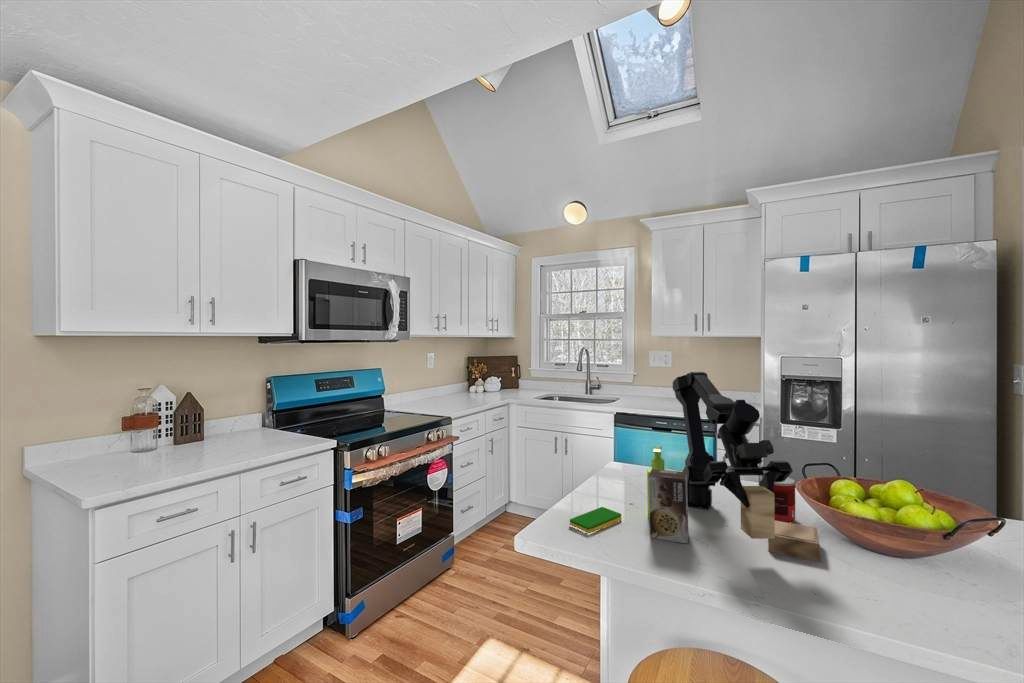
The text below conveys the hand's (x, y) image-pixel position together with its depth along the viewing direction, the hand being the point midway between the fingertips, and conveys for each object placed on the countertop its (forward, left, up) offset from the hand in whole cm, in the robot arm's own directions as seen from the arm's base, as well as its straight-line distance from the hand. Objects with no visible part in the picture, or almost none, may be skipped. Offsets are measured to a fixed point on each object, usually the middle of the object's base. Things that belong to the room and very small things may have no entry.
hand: (760, 506), depth 99 cm
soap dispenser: (-26, +14, -13) cm, 32 cm away
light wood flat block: (+6, +12, -13) cm, 19 cm away
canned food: (+3, +30, -13) cm, 33 cm away
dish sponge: (-40, +2, -13) cm, 42 cm away
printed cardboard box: (-21, +4, -13) cm, 25 cm away
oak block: (-1, +1, -7) cm, 7 cm away
